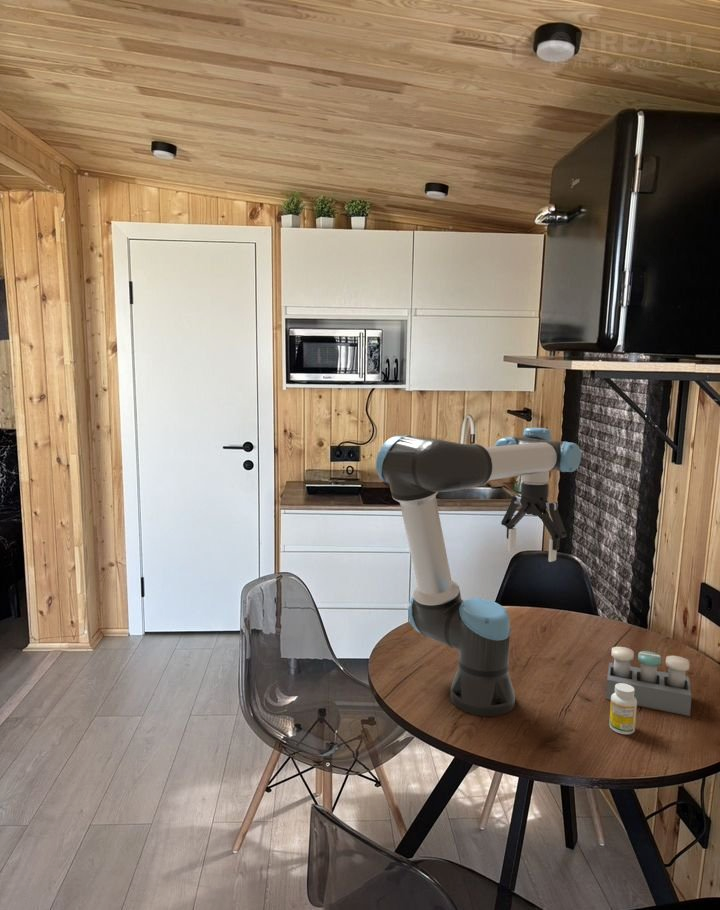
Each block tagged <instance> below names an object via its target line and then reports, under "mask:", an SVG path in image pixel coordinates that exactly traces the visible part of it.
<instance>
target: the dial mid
mask: <svg viewBox="0 0 720 910" xmlns="http://www.w3.org/2000/svg"><path fill="white" fill-rule="evenodd" d="M637 655H638V656H637V661H639V663H640V668H641V670H640V681H642V682H648V683H653V684H656V679H657V671H658V666H660V665H662V656H661V655H660V654H659V653H657V652H654V651H649V650H642V651H639V652H638V654H637Z"/></svg>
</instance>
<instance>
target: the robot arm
mask: <svg viewBox="0 0 720 910" xmlns="http://www.w3.org/2000/svg"><path fill="white" fill-rule="evenodd" d="M581 457H582V452H581V448H580V446H579V445H578V444H577V443H575V442H571V441H570V442H568V441H566V440H565V441H562V440H561V441H560V440H552V432H551V430H550V429H549V428H545V427H527V428H524V431H523V435H522V436H507V437H503V438H500V439H498V440H497V441H496V443H495V444H494V445H493V446H489V447H485V446H483V445H481V444H478V443H473V444H472V443H469V444H468V443H461V442H460V443H459V442H454V441H449V440H442V439H434V438H428V437H427V438H425V437H418V436H417V437H416V436H412V435H407V434H406V435H394V436H392V437H390V438H388V439H387V440H386V441H384V443H383V444H382V445H381V447H380V451H378V453H377V455H376V459H375V470H376V473H377V476H378V477H379V479H380V480H381V481H382V482H384V483H386V484H388V485H389V489H390V493H391V497H392V499H393V500H395V501H396V502H398V503H399V506H400V509H401V514H402V518H403V524H404V529H405V532H406V538H407V543H408V547H409V552H410V557H411V563H412V565H413V571H414V575H415V580H416V585H417V586H416V587H415V589H414V590H413V595H412V596H411V597H410V600H409V603H410V605H408V607H407V615H408V620H409V623H410V625H411V626H412V628H413V629H414V631H416V632H418V633H419V634H421V635H422V636H424V637H425V638H428V639H430V640H431V639H432V640H433V641H435V642H437V643H440V644H443V645H445V646H447V647H450V648H452V649H454V650H456V651H458V667H457V669H456V673H455V674H454V678H453V681H452V683H451V685H450V694H449V695H450V698H449V699H450V701H451V703H452V702H453V703H454V704H455V705H456V706H457V707H458V708H457V707H456V706H455V705H454V704H453V703H452V704H453V705H454V706H455V707H456V708H457V709H459V708H460V709H459V710H461V709H462V710H463V712H465V711H466V712H465V713H467V712H468V714H470V715H473V716H480V717H498V716H503V715H505V714H508V713H509V712H511V711H512V710H513V709H514V707H515V705H516V704H515V703H516V700H515V699H516V696H515V695H516V694H515V690H514V686H513V684H512V680H511V676H510V673H509V661H510V660H509V659H510V657H509V656H510V639H511V637H510V636H511V631H512V630H511V623H510V622H511V618H510V614H509V613H508V610H507V609H506V608H505V607H504V606H503V605H502V604H499V603H498V602H495V601H493V600H491V599H482V598H480V597H471V598H468V599H465V600H463V599H462V595H461V590H460V586H459V584H458V582H456V581H454V580H453V579H452V575H451V571H450V570H451V569H450V566H449V565H450V564H449V559H448V555H447V550H446V549H447V548H446V544H445V539H444V533H443V530H442V523H441V518H440V514H439V513H440V512H439V508H438V502H437V498H436V495H438V493H442V492H444V493H445V492H453V491H460V490H465V489H472V488H477V487H482V486H484V485H486V484H487V483H488V482H489V481H494V480H500V479H505V478H512V477H513V478H514V477H520V476H521V481H522V482H521V483H520V484H521V485H520V494H521V496H520V495H513V496H511V500H510V504H509V506H508V508H507V510H506V512H505V514H504V516H503V518H502V520H501V522H500V525H502V526H504V527H505V528H506V539H507V541H508V543H507V551H508V552H513V551H515V550H516V548H517V528H516V525H518V523H519V522H520V521H521V520H522V518H523V517H525V515H532V516H533V517H537V516H538V518H539V519H540V520H541V522H542V523H543V524H544V527H545V528H546V529H547V531H548V533H549V534H550V536H551V538H548V539H549V541H548V559H547V560H548V562H549V563H552V562H556V560H557V554H558V553H557V551H558V550H559V549H560V541H561V539H563V538H566V537H567V531H566V528H565V526H564V523H563V520H562V517H561V514H560V513H559V506H558V505H559V504H558V502H556V501H554V502H548V497H549V489H550V488H549V487H550V486H549V484H548V483H549V482H550V472H555V471H556V472H558V471H559V472H561V473H567V472H568V473H572V472H575V471H576V470H577V469H578V468H579V466H580V464H581V461H582V458H581ZM519 504H521V507H520V508H519V510H518V512H517V513H516V511H517V509H518V507H519ZM548 511H549V512H548ZM462 710H461V711H462Z"/></svg>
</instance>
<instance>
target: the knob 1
mask: <svg viewBox="0 0 720 910" xmlns="http://www.w3.org/2000/svg"><path fill="white" fill-rule="evenodd" d="M610 654H611V657H612V658H613V660H614V661H613V663H614V671H613V675H614V676H615V677H621V678H626V679H628V678H629V672H630V666H631V661H633V660H634V657H635V652H634V650H632V649H631V648H629V647H624V646H613V647H612V648H611V653H610Z"/></svg>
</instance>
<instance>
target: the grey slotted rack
mask: <svg viewBox="0 0 720 910" xmlns="http://www.w3.org/2000/svg"><path fill="white" fill-rule="evenodd" d="M640 670H641V667H637V666H632V665H630V672H629V678H628V679H626V678H621V677H615V676H614V675H613V671H614V662H608V671H607V677H606V688H605V689H606V694H605V700H607V701H611V696H612V694H613V693H615V685H616V684H618V683H625V684H628V685H631V686H632V687H634V689H635V694H634V697H635V698H636V700H637V707H639V706H640V707H643V708H647V709H652V710H653V709H654V710H659V711H662V712H663V711H664V712H668V713H673V714H679V715H683V716H687V717H691V708H692V707H691V706H692V689H691V682H690V677H689V676H688V675H685V684H684V689H680V688H674V687H669V686H668V685H667V682H668V672H667V671H666V672H665V671H659V670H657V679H656V684H653V683H648V682H642V681H640Z"/></svg>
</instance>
